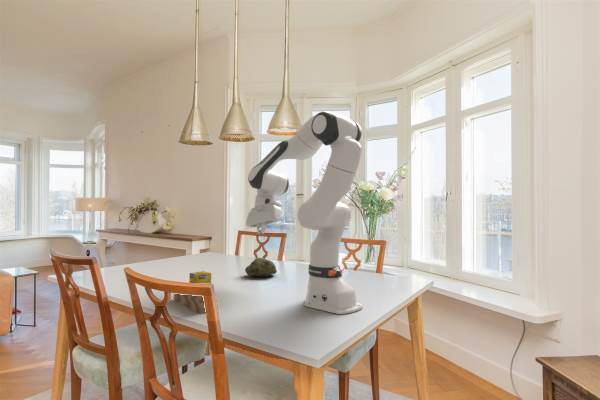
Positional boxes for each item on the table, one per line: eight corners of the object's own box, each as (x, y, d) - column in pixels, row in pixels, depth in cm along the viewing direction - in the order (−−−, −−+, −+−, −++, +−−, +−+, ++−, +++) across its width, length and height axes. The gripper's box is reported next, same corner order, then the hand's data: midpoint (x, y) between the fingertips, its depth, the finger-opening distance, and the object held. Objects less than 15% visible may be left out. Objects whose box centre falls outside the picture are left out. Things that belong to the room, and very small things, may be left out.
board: (208, 312, 118) (208, 294, 118) (200, 313, 116) (200, 296, 116) (181, 298, 134) (181, 282, 134) (173, 299, 132) (174, 283, 132)
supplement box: (197, 305, 126) (198, 275, 126) (188, 302, 130) (189, 272, 130) (211, 302, 130) (211, 272, 130) (202, 298, 134) (202, 270, 134)
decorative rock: (251, 275, 185) (251, 257, 187) (280, 275, 182) (279, 256, 183) (241, 278, 171) (241, 258, 172) (272, 278, 168) (271, 257, 169)
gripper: (244, 207, 163) (240, 235, 158) (274, 198, 150) (270, 228, 145) (255, 211, 167) (251, 238, 162) (284, 202, 154) (281, 232, 149)
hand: (260, 233), depth 153 cm, fingers closed
